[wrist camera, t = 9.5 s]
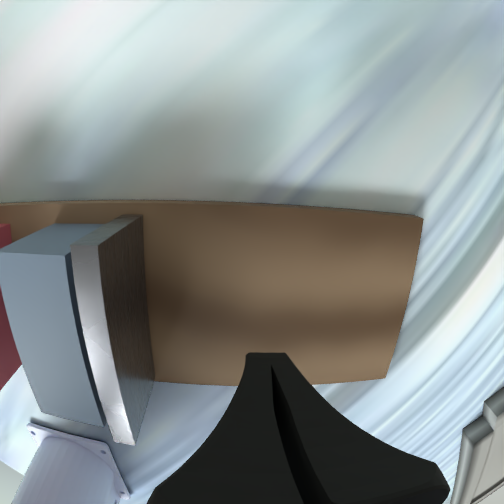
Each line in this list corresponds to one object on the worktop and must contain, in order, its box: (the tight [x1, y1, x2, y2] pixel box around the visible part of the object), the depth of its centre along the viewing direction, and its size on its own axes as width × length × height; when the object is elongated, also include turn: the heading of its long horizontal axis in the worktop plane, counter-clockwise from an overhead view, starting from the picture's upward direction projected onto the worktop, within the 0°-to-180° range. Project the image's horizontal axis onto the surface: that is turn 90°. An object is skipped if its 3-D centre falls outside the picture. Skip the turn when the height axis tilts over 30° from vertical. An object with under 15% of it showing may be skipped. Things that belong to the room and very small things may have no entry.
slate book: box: [0, 223, 107, 427], centre depth 13 cm, size 8×4×5 cm, turn 177°
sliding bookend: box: [70, 214, 155, 445], centre depth 12 cm, size 9×1×5 cm, turn 177°
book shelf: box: [0, 200, 423, 386], centre depth 13 cm, size 10×30×7 cm, turn 87°
